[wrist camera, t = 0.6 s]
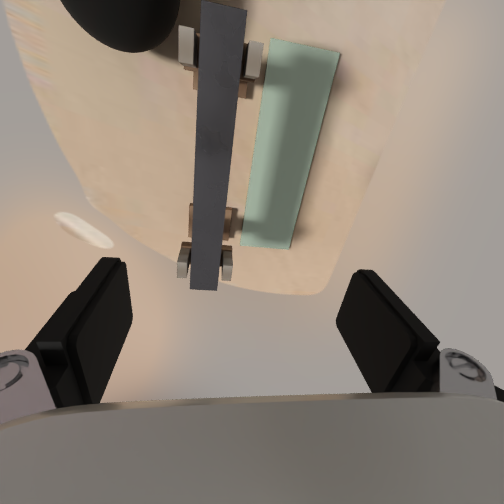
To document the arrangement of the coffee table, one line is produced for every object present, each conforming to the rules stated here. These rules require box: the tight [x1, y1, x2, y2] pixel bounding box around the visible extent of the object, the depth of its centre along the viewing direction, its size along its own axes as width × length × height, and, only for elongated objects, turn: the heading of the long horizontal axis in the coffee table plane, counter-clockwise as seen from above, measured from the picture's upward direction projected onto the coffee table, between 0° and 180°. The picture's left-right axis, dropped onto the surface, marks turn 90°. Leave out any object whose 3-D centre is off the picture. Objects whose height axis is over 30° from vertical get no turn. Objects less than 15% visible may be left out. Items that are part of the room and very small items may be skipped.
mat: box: [240, 38, 340, 250], centre depth 35 cm, size 26×8×1 cm, turn 171°
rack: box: [177, 25, 264, 281], centre depth 28 cm, size 24×6×13 cm, turn 171°
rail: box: [190, 0, 247, 291], centre depth 24 cm, size 24×3×3 cm, turn 171°
